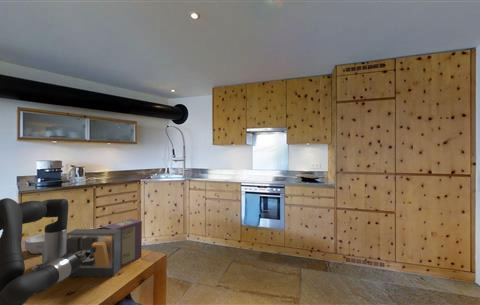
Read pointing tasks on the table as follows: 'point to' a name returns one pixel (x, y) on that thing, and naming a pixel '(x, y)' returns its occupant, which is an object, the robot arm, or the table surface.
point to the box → (129, 239)
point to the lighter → (37, 267)
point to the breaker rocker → (101, 254)
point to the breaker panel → (84, 241)
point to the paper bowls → (35, 244)
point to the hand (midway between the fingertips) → (94, 249)
